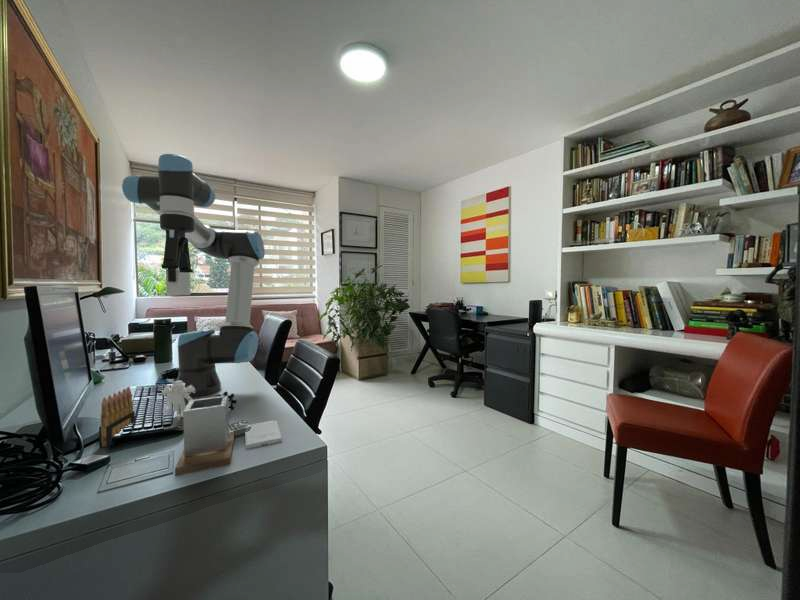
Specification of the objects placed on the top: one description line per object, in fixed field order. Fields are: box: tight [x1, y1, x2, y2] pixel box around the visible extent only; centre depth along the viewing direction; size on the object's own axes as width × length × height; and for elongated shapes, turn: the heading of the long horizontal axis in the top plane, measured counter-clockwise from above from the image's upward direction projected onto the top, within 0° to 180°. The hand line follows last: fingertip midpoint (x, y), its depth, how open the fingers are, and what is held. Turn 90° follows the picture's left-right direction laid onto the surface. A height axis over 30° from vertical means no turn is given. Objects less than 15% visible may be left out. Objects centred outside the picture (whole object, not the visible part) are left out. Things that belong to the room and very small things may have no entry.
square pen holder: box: [183, 395, 230, 457], centre depth 75 cm, size 8×8×10 cm
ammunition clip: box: [98, 386, 136, 449], centre depth 83 cm, size 11×2×12 cm, turn 10°
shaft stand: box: [174, 433, 235, 476], centre depth 75 cm, size 16×10×9 cm, turn 24°
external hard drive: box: [244, 419, 283, 450], centre depth 84 cm, size 2×8×12 cm
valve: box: [215, 391, 238, 411], centre depth 94 cm, size 7×7×12 cm
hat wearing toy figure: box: [161, 378, 195, 412], centre depth 97 cm, size 9×4×12 cm, turn 97°
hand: (179, 295), depth 86 cm, fingers open, 13 cm apart
